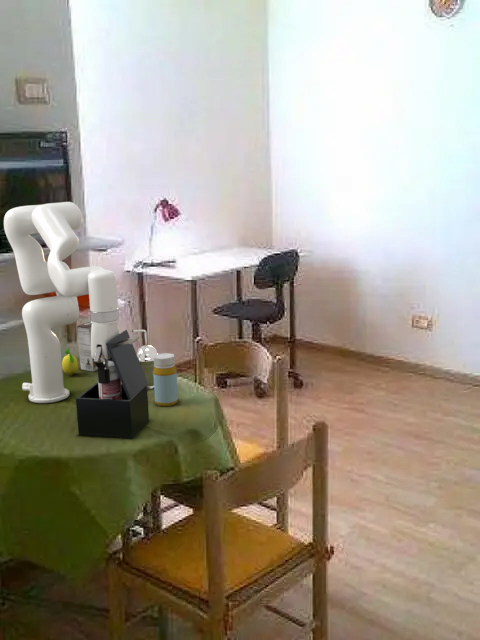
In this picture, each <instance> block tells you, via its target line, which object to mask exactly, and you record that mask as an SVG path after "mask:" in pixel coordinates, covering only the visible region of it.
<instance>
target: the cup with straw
mask: <svg viewBox="0 0 480 640" xmlns="http://www.w3.org/2000/svg"><path fill="white" fill-rule="evenodd" d="M131 333H144V345H142V346H140V347H139V348H138V349H137V350H136V354H137V357H138V359H139V362H140V364H141V367H142V369H143V372H144V374H145V377H146V379H147V382H148V384H147V390H151V389H154V376H153V370H154V367H155V366H154V356H155V355H156V354H159V353H158V351H157V349H156V348H155V347H154V346H152V345H149V344H148V334H147V330H145V329H132V330H131Z"/></svg>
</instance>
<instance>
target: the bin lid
mask: <svg viewBox="0 0 480 640" xmlns="http://www.w3.org/2000/svg"><path fill="white" fill-rule="evenodd" d="M139 339H140V335H139V334H138V333H135V334H133V335H132V336H131V337H130V334H129V332H128V329H125V330H123V331H121V332H119V335H117V336H116V337H114V338H113V339H111V340H110V341H108V342H107V343H106V346H107V348H108V350H109V353H110V355H111V358H112V360H113V363H114V365H115V368H116V370H117V373H118V375H119V378H120V380H121V384H122V385H123V388H124V390H125V393H126V395H127V398H128V400H130V399H132V398H133V397H134V396H135V395H136V394H137V393H138V392H139V391H140V390H141V389H142V388H143V387H145V386H146V385H147V384H148V382H147V379H146V377H145V374H144V372H143V369H142V367H141V364H140V362H139V359H138V357H137V354H136V353H137V351H136V349H135V347H134V343H135V342H137V341H139Z"/></svg>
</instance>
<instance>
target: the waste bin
mask: <svg viewBox="0 0 480 640" xmlns="http://www.w3.org/2000/svg"><path fill="white" fill-rule="evenodd" d="M121 390H122V400H114V399H100V398H99V385H98V382H95V383H94V384H92V385H91V386H90V387H89V388H87V389H86V390H85V391H83V392H82V393H81V394H79V395H78V396H77V397H76V398H75V406H76V419H77V432H78V436H80V437H92V438H93V437H94V438H95V437H96V438H111V439H125V440H126V439H129V440H133V439H134V438H135V437H136V436H137V435H138V434H139V432H141V430H142V429H143V428H145V426H146V425H147V424H148V423H149V422H150V410H149V395H148V393H149V392H148V389H147V385H146V386H145V387H143V388H142V389H141V390H140V391H139V392H138V393H137V394H136V395H135V396H134V397H133V398H132V399H130V400H128V398H127V395H126V393H125V390H124V388H123V385H122V383H121Z"/></svg>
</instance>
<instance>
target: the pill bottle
mask: <svg viewBox="0 0 480 640" xmlns="http://www.w3.org/2000/svg"><path fill="white" fill-rule="evenodd" d="M103 363H104V365H105V362H103ZM108 369H109V374H110V383H109V384H102V383H99V382H98V381H97V383H98V385H99V398H100V399H114V400H122V390H121V384H122V383H121V380H120V378H119V375H118V373H117V370H116V368H115V365H114V363H113V361H108Z"/></svg>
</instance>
